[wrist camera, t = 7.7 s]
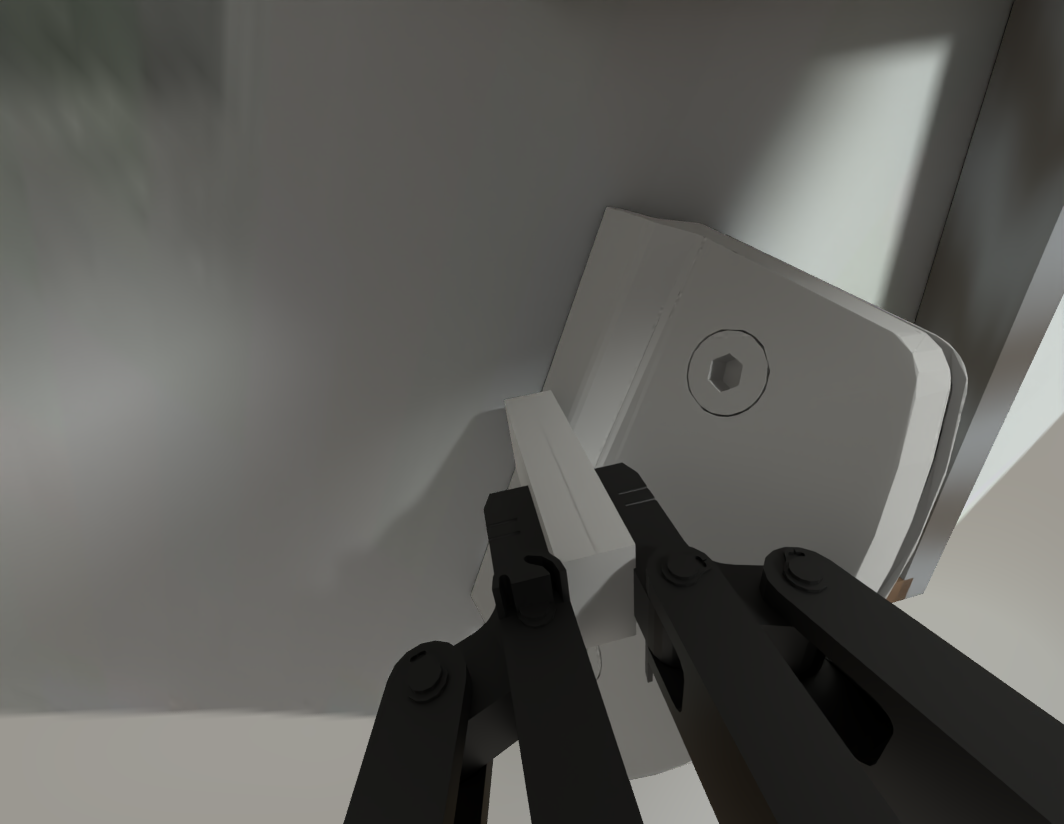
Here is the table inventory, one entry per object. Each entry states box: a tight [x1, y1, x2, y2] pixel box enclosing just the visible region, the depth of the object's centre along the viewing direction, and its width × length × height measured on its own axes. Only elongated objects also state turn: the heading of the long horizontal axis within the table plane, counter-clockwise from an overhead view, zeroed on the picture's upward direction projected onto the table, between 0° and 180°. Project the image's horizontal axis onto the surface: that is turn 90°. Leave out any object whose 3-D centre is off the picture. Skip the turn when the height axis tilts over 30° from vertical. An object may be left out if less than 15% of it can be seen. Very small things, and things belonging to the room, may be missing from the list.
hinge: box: [471, 207, 968, 780], centre depth 14 cm, size 17×5×10 cm, turn 162°
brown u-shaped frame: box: [886, 0, 1064, 603], centre depth 15 cm, size 25×15×3 cm, turn 8°
